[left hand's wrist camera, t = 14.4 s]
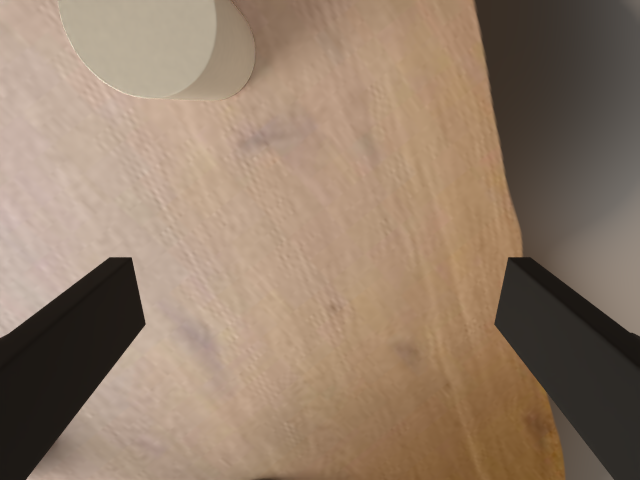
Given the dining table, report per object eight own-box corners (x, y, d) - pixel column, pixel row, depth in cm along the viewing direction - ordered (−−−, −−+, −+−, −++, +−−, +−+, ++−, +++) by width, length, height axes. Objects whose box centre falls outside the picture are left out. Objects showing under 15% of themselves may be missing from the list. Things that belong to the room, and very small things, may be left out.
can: (253, 106, 32) (215, 107, 20) (160, 95, 32) (67, 88, 20) (258, 0, 29) (218, -71, 17) (156, -14, 29) (45, -97, 17)
